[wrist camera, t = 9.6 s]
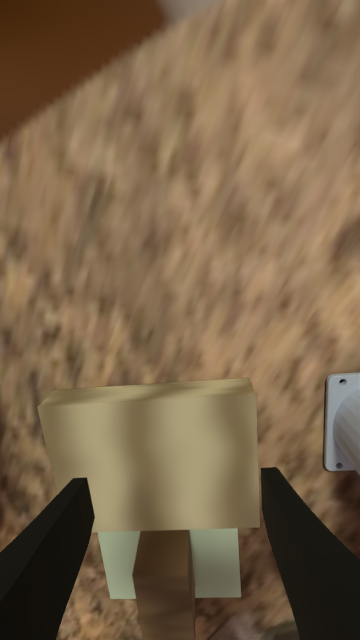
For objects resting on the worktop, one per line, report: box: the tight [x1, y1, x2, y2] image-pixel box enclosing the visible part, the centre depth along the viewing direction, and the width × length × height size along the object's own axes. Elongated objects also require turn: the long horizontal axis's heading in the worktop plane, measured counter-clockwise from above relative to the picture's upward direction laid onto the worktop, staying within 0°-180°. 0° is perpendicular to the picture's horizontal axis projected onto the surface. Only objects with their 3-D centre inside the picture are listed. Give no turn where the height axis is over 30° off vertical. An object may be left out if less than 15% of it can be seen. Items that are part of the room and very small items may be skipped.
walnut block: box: [132, 530, 195, 640], centre depth 24 cm, size 4×4×7 cm
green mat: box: [98, 528, 241, 599], centre depth 26 cm, size 12×10×1 cm
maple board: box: [37, 378, 260, 532], centre depth 22 cm, size 15×11×2 cm
